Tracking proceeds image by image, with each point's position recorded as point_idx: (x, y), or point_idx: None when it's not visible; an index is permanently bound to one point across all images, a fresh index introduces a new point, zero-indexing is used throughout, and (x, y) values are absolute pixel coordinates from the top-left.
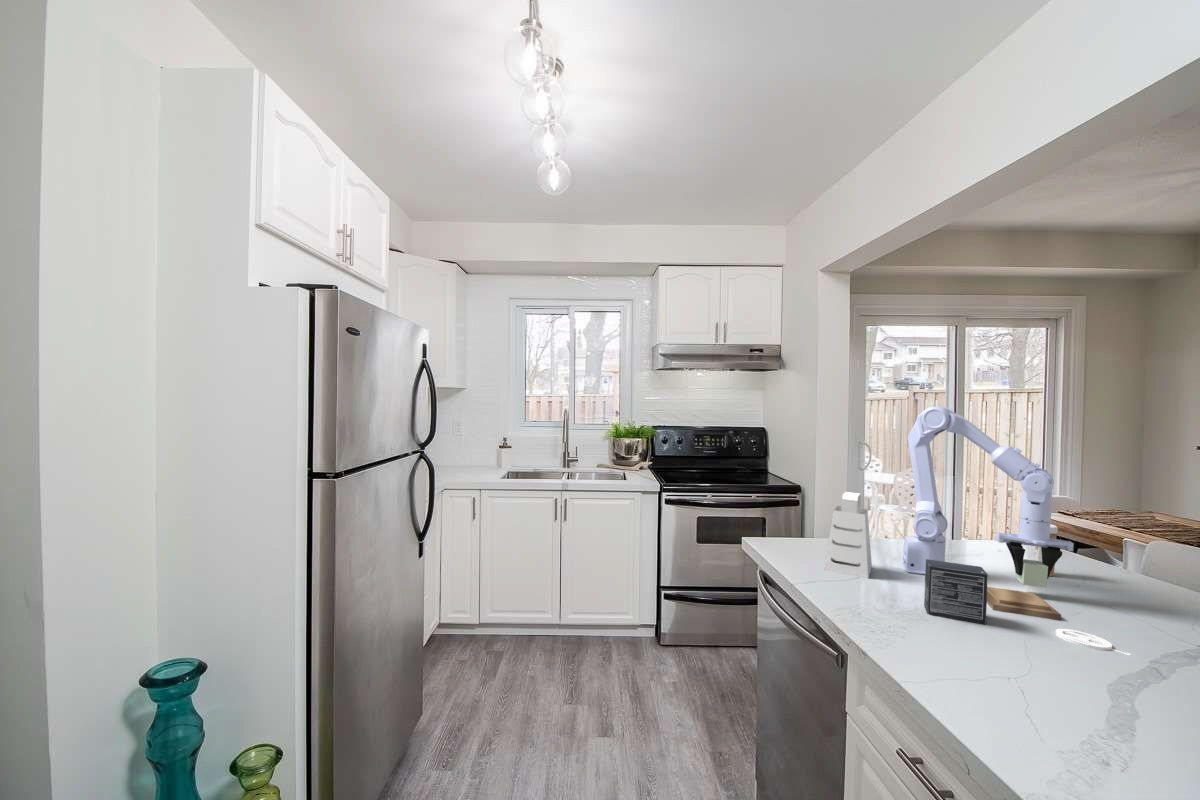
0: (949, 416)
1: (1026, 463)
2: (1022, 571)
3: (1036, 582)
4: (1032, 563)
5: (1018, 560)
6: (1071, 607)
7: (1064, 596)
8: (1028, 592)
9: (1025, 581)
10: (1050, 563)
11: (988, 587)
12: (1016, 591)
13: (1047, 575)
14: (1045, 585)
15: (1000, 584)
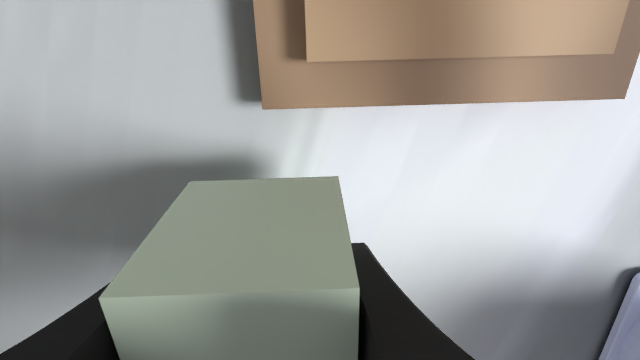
0: None
1: None
2: None
3: (252, 190)
4: (257, 338)
5: (423, 330)
6: (92, 65)
7: (106, 265)
8: (336, 60)
9: (327, 187)
10: (44, 355)
11: (612, 32)
12: (424, 34)
13: None
14: (193, 186)
15: None
